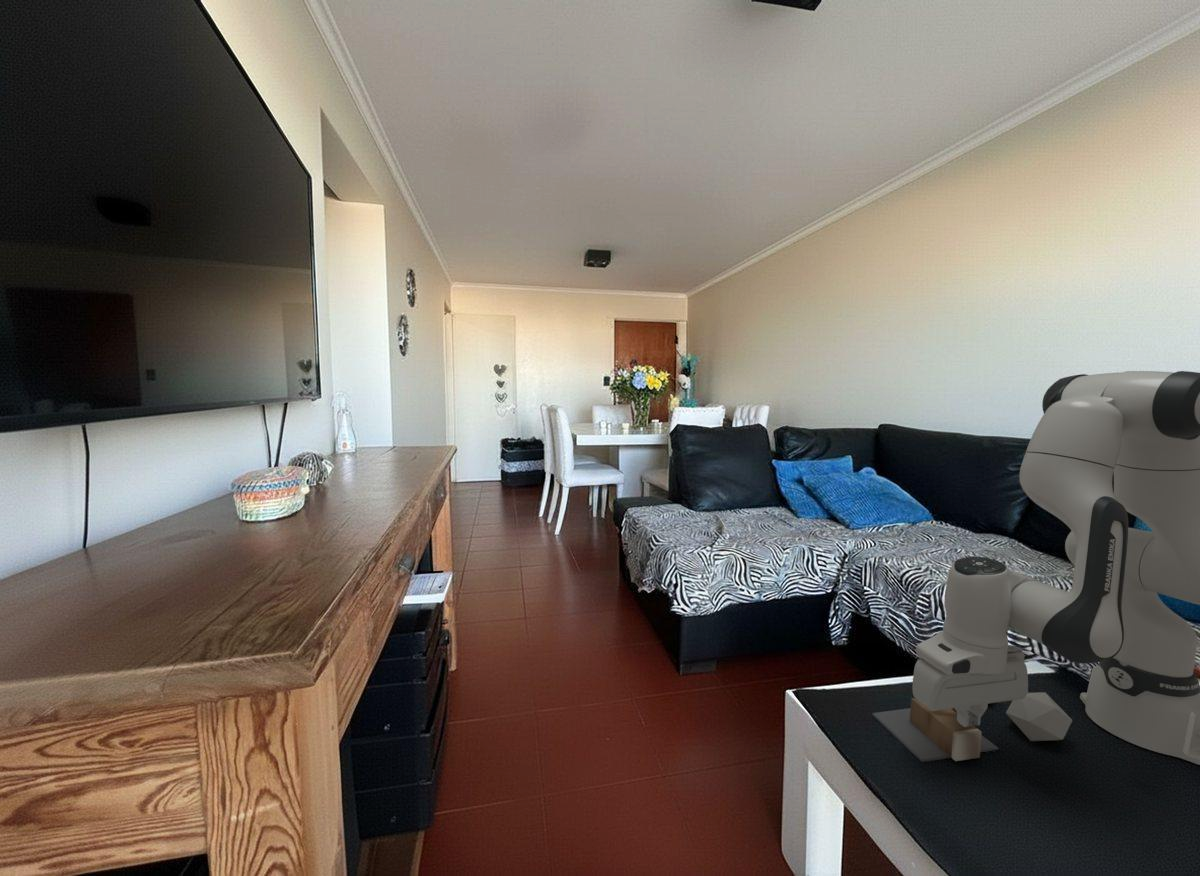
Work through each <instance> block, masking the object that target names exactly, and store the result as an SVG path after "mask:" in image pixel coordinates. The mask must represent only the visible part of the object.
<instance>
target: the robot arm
mask: <svg viewBox="0 0 1200 876" xmlns="http://www.w3.org/2000/svg"><path fill="white" fill-rule="evenodd" d="M1041 406H1042V413H1043V415H1042V417H1041V418H1040V420H1039V422H1038V424H1037V425H1036V427H1035V429H1034V431H1033V433H1032V435H1031V438H1030V440H1029V442H1028V444H1027V448H1026V451H1025V453H1024V456H1023V459H1022V463H1021V465H1020V469H1019V483H1020V486H1021V488H1022V490H1023V491H1024V493H1025V495H1026V496H1027V497H1028V498H1029V499H1030V500H1031V501H1032V502H1033V503H1034V504H1036V505H1037V506H1039V507H1040V508H1042V509H1043V510H1045V511H1046V512H1048V513H1050V514H1052V515H1053V516H1054V517H1056V518H1057V519H1059V520H1060V521H1061V522H1063V523H1064V524H1065V525H1066V526H1067V527H1068V528H1069V529H1070V532H1069V533H1068V534H1067V537H1066V539H1065V544H1064V550H1065V553H1066V556H1067V558H1068V560H1069V561H1070V562H1071V563H1072V565H1074V569H1073V576H1072V577H1073V578H1072V586H1071V590H1070V591H1067V590H1065V589H1062V588H1060V587H1056V586H1053V585H1051V584H1048V583H1046V582H1044V581H1041V580H1039V579H1036V578H1034V577H1032V576H1028V575H1025V574H1023V573H1020V572H1016V571H1015V570H1012V569H1010V568H1009V567H1008V566H1007V565H1006V564H1004V563H1003V562H1001V561H1000V560H998V559H997V560H996V559H993V558H990V557H983V556H966V557H962V558H959V559H956V560H955V561H954V562H953V563H952V564H951V566H950V568H949V571H948V575H947V579H946V585H945V590H944V591H945V592H944V607H945V611H946V616H945V620H944V622H943V625H942V631H939V632H938V633H936V634H935V635H934V636H931V637H930V638H928V639H926V640H924V641H923V640H922V642H919V643H918V644H917V645H916V647H915V652H916V654H917V656H918V657H920V658H919V659H917V661H916V663H915V664H914V669H913V677H912V695H913V698H916V699H917V700H918V701H919V702H920V703H921V704H922V705H923V706H925V707H926V708H927V709H929V710H931V711H937V710H945V709H952V710H953V709H955V712H956V713H957V721H958V722H959V723H960V724H961V725H962V726H964V727H969V726H975V727H976V726H980V725H981V718H982V717H983V715H984V714H985V712H986V710H987V709H988V706H989V705H988V704H995V703H1002V702H1009V701H1011V702H1012V701H1013V700H1019V699H1024V698H1025V696H1026V695H1027V693H1029V677H1028V676H1029V675H1028V668H1027V665H1026V663H1025V652H1024V651H1023V650H1022V649H1021V648H1020V647H1018V646H1017V645H1015V644H1014V645H1013V644H1012V645H1009V638H1008V635H1007V632H1009V631H1016V633H1019V634H1021V635H1023V636H1025V637H1027V638H1029V639H1031V640H1033V641H1035V642H1036V643H1039V644H1041V645H1043V646H1045V647H1046V648H1047V649H1048V650H1051V651H1052V652H1053V653H1056V654H1057V655H1059V656H1060V657H1062V658H1065V660H1068V661H1069V662H1071V663H1074V664H1094V663H1096V664H1097V663H1098V665H1095V666H1093V667H1092V670H1091V674H1090V679H1089V683H1088V686H1087V692H1080V695H1079V699H1080V700H1081V701H1082V703H1083V704H1084V706H1085V713H1086V715H1087V716H1088V717H1089V719H1091V721H1092V722H1094V723H1095V724H1096V725H1098V726H1099V727H1100V728H1102V729H1103V730H1105V731H1107V732H1109V733H1110V734H1111V735H1114V736H1116V737H1118V738H1119V739H1122V740H1124V741H1126V742H1128V743H1130V744H1132V745H1136V746H1138V747H1140V748H1143V749H1146V750H1149V751H1153V752H1155V753H1159V754H1162V755H1167V756H1172V757H1175V758H1179V759H1182V760H1184V761H1188V762H1191V763H1193V764H1196V765H1199V766H1200V682H1199V680H1200V668H1199V667H1198V666H1195V663H1196V654H1197V649H1198V648H1197V647H1198V636H1197V633H1196V632H1195V630H1194V628H1193V627H1192V625H1191V624H1190V623H1189V622H1188V621H1186V619H1184V618H1183V617H1182V616H1180V615H1178V614H1177V613H1175V612H1174V611H1173V610H1172V609H1170V608H1169V607H1168V606H1167V605H1166V604H1165V603H1164V602H1163V601H1162V599H1161V598H1160V597H1159V595H1158V594H1160V595H1164V596H1166V597H1171V598H1174V599H1178V600H1181V601H1184V602H1188V603H1191V604H1195V605H1197V606H1198V605H1199V606H1200V372H1197V371H1196V372H1195V371H1186V370H1180V371H1179V370H1178V371H1176V372H1173V371H1157V370H1155V371H1153V370H1127V371H1122V372H1107V373H1097V374H1096V373H1095V374H1086V373H1085V374H1083V373H1081V374H1075V375H1070V376H1064V377H1062V378H1059V379H1057V380H1056V381H1055V382H1054V383H1052V384H1051V385H1050V386H1049V388H1047V389H1046V391H1045V393H1044V395H1043V398H1042V405H1041ZM1128 513H1129V514H1130V515H1132V516H1135V517H1136V518H1138V519H1139V520H1141V521H1142V522H1144V524H1145V525H1146V526H1147V527H1148V528H1149V530H1151V531H1148V530H1143V529H1138V528H1135V527H1134V528H1132V527H1129V517H1128Z"/></svg>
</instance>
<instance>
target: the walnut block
mask: <svg viewBox="0 0 1200 876" xmlns="http://www.w3.org/2000/svg"><path fill="white" fill-rule="evenodd" d="M910 708H911V709H910V722H911V723H912V724H913V725H914V726H915V727H917V728H918V729H919V730H920V731H921V732H922V733H924V734H925V735H926V736H927V737H928V738H929V739H930V740H932V741H933V742H934V743H935V744H936V745H937V746H939V747H940V748H941V749H942V750H943V751H944V752H945V753H947V754H948V755H949V756H950V757H951V758H950V759H952V760H953V761H955V762H958V761H959V762H960V761H966V760H971V759H973V760H974V759H978V758H979V759H980V758H981V753H980V748H981V735H982V733H983V732H982V731H981V730H980V729H979V728H977V727H976V725H975V726H969V727H964V726H962V725H961V724H960V723H959V722H958V721H957V712H956V710H955V711H954V709H953V708H952V709H945V710H937V711H931V710H929V709H927V708H926V707H925V706H923V705H922V704H921V703H920V702H919V701H918V700H917V699H916V698H915V697H911V698H910Z"/></svg>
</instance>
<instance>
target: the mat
mask: <svg viewBox="0 0 1200 876" xmlns="http://www.w3.org/2000/svg"><path fill="white" fill-rule="evenodd" d="M910 709H911V707H908V708H903V709H902V708H901V709H895V710H886V711H879V712H873V713H872V714H871V715H872V717H874V719H875V720H877V721H878V722H879V723H880V724H881V725H882V726H883V727H884V728H885V729H886V730H887V731H888V732H889V733H890V734H891V735H893V736H894V738H896V739H897V741H899V742H900V743H901V744H902V745H903V746H904V747H905V748H907V749H908V751H909V752H910V753H912V754H913V755H914V757H916V758H917V759H918V760H919V761H920V762H921V763H926V762H932V761H939V760H945V759H946V758H947V759H952V758H951V757H950V756H949V755H948V754H947V753H945V752H944V751H943V750H942V749H941V748H940V747H939V746H937V745H936V744H935V743H934V742H933V741H932V740H930V739H929V738H928V737H927V736H926V735H925V734H924V733H922V732H921V731H920V730H919V729H918V728H917V727H915V726H914V725H913V724H912V723H911V722H910ZM992 750H999V747H998V746H997V745H996V744H994V743H993V742H992V741H990V740H989V739H987V738H986V737H985V736H983V735H982V734H981V748H980V752H985V751H992Z"/></svg>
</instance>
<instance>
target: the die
mask: <svg viewBox="0 0 1200 876" xmlns="http://www.w3.org/2000/svg"><path fill="white" fill-rule="evenodd" d="M1005 713H1006V715H1007V716H1008V718H1009V719H1010V720H1011V721H1012V722H1013V724H1015V726H1017V728H1019V729H1020V731H1021V732H1022V733H1023V734H1024V735H1025V736H1026V737H1027V739H1029V741H1030V742H1041V741H1042V742H1043V741H1046V742H1047V741H1049V742H1050V741H1062V740H1064V738H1065V736H1066V735H1067V733H1068V730H1069V728H1070V726H1071V724H1072V722H1073V719H1072V718H1071V717H1070V716H1069V714H1067V713H1066V712H1065V711H1064V710H1063V709H1062V708H1061V707H1060V705H1058V704H1057V703H1056V702H1055V701H1054V700H1053V698H1052V697H1051V696H1050V695H1049V694H1047V692H1045V691H1044V692H1028V693H1027V695H1026V696H1025V698H1024V699H1019V700H1011V702H1010V705H1009V706H1008V708H1007V710H1006V712H1005Z"/></svg>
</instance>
